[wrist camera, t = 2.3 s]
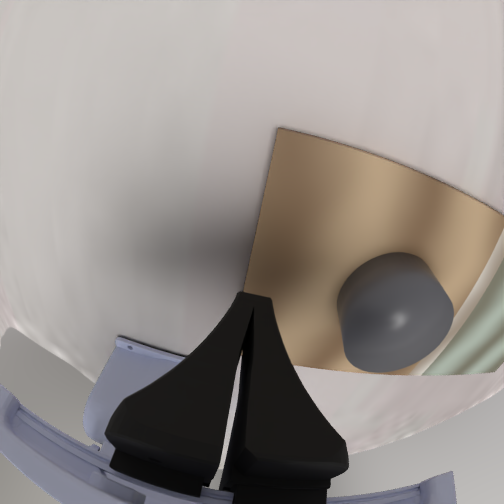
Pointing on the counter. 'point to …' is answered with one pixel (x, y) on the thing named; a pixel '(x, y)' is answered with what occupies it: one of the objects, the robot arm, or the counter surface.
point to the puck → (392, 313)
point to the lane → (372, 251)
